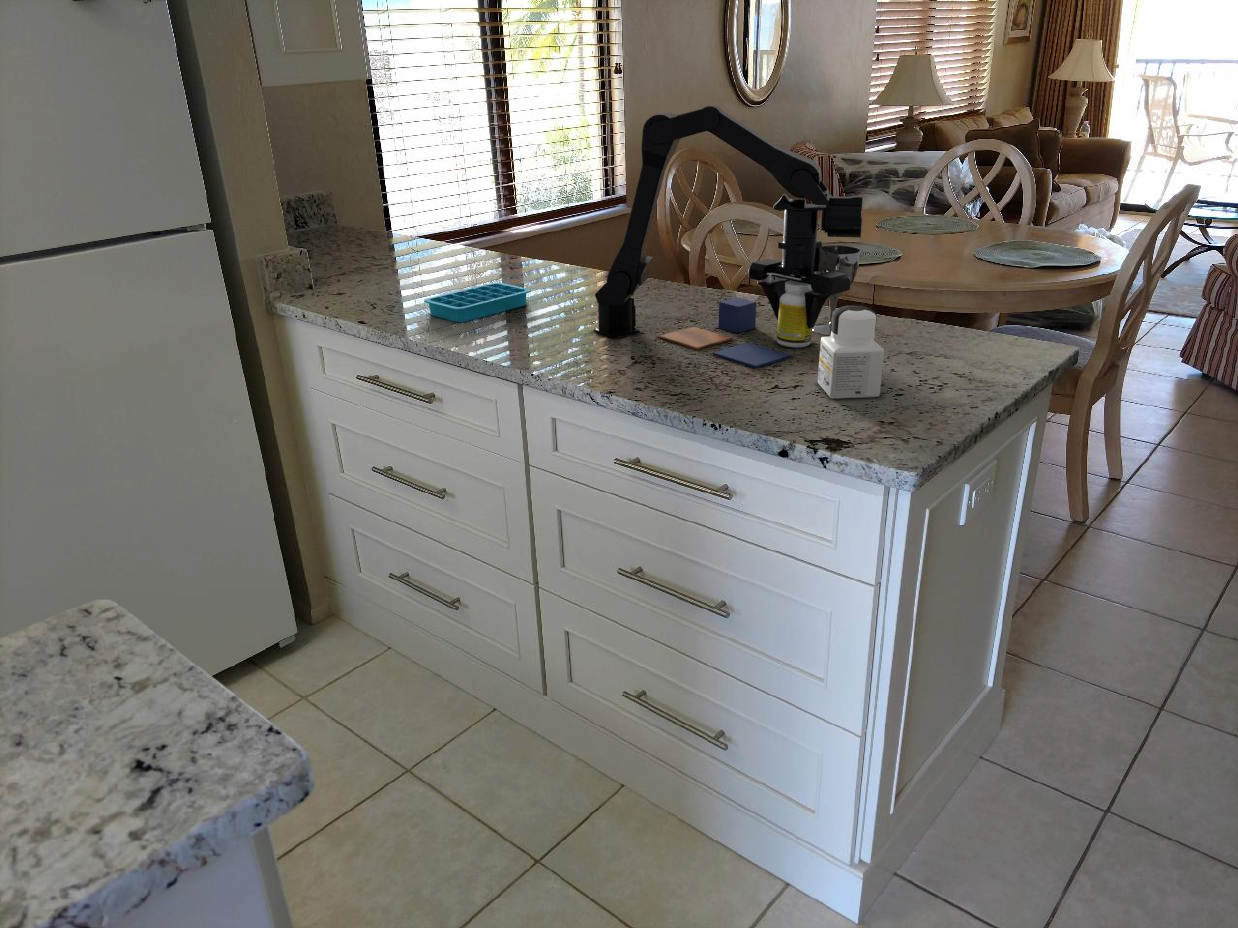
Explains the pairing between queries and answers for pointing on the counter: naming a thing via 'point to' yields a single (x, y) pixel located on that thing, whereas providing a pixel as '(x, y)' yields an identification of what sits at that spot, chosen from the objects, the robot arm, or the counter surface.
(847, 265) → the wine glass
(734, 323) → the navy block
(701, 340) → the amber mat
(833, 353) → the container
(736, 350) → the navy mat
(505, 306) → the ice cube tray
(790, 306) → the pill bottle
